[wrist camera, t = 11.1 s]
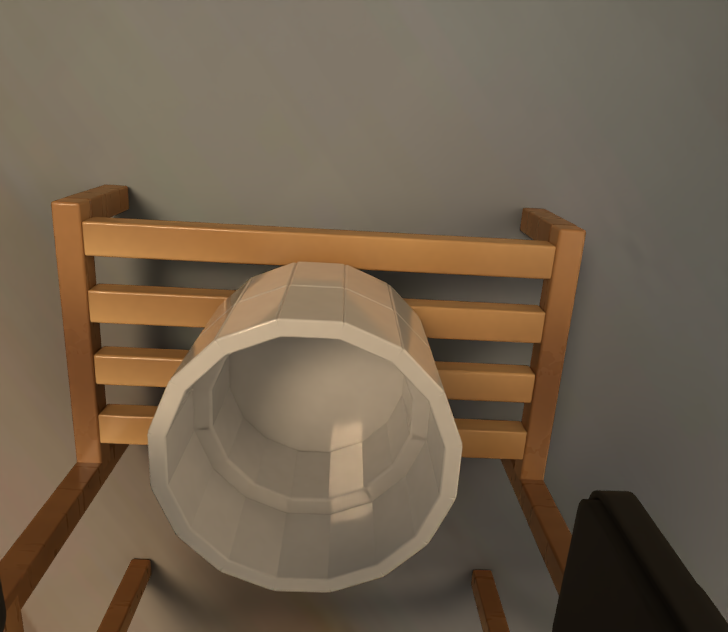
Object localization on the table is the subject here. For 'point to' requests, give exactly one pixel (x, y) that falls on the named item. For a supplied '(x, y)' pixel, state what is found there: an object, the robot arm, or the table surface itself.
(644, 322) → the table surface
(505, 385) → the rack
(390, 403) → the white cup
